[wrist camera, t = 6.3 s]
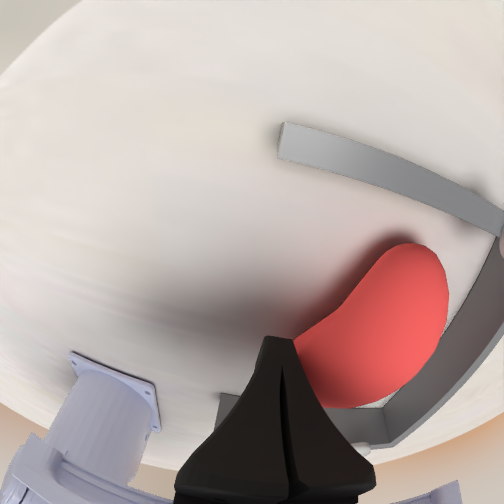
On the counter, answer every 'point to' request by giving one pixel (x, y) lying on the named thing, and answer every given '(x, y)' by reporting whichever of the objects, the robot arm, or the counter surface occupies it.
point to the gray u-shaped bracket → (467, 319)
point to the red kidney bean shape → (378, 330)
